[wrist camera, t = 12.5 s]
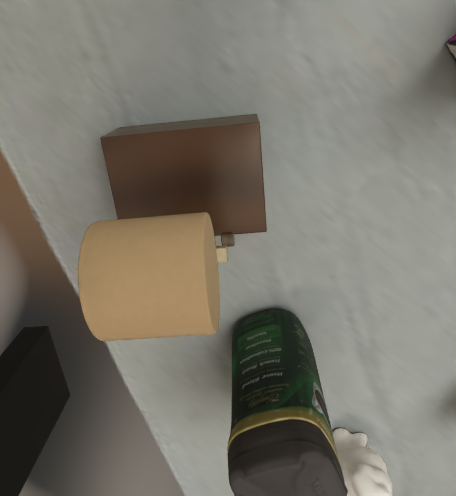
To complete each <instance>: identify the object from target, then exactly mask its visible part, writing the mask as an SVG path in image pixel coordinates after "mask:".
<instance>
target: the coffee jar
mask: <svg viewBox="0 0 456 496" xmlns="http://www.w3.org/2000/svg"><path fill="white" fill-rule="evenodd" d="M228 470H229V483H230V486H231V489H232V491H233V493H234V495H235V496H347V493H348V490H347V488H346V485H345V482H344V477H343V473H342V469H341V465H340V461H339V457H338V454H337V450H336V446H335V442H334V438H333V434H332V430H331V425H330V421H329V417H328V413H327V409H326V404H325V400H324V396H323V392H322V388H321V383H320V379H319V374H318V370H317V365H316V361H315V357H314V353H313V349H312V346H311V343H310V340H309V338H308V335H307V333H306V331H305V329H304V327H303V325H302V324H301V322H300V321H299V319H298V318H297V317H296V316H295V315H294V314H293V313H291V312H289V311H286V310H282V309H273V310H267V311H263V312H259V313H256V314H254V315H251V316H249V317H247V318H245V319H243V320H242V321H240V322H239V323H238V324H237V325H236V327H235V328H234V330H233V334H232V422H231V433H230V437H229V442H228Z"/></svg>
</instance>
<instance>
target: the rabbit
mask: <svg viewBox="0 0 456 496" xmlns="http://www.w3.org/2000/svg"><path fill="white" fill-rule="evenodd" d="M332 434H333V438H334V442H335V446H336V450H337V454H338V457H339V461H340V465H341V469H342V473H343V477H344V482H345V485H346V488H347V490H348V493H347V496H393V494H392V483H391V480H390V478H389V477H388V475H387V469H386V466H385V463H384V461H383V459H382V458H381V457H380V456H379V455H378V454H377V453H376V452H375V451H373V450H372V449H370V448H367V447H366V444H367V436H366V435H365V434H363V433H354V434H350V433H349V431H347V430H346V429H343V428H339V429H336V430H334V431H333V433H332Z"/></svg>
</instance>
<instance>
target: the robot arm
mask: <svg viewBox="0 0 456 496" xmlns="http://www.w3.org/2000/svg"><path fill="white" fill-rule="evenodd" d="M69 397H70V393H69V390H68V387H67V384H66V381H65V378H64V374H63V371H62V368H61V365H60V362H59V359H58V356H57V353H56V350H55V346H54V343H53V340H52V337H51V334H50V331H49V328H48V326H42V327H24V328H23V329H22V330H21V331H20V333H19V334H18V335H17V336H16V338H15V339H14V340H13V341H12V342H11V344H10V345H9V346H8V347H7V349H6V350H5V351H4V352H3V353H2V355H1V356H0V496H18V495H19V493H20V492H21V490H22V488H23V486H24V484H25V482H26V480H27V478H28V476H29V474H30V472H31V470H32V468H33V466H34V464H35V463H36V461H37V459H38V457H39V455H40V453H41V451H42V449H43V447H44V445H45V443H46V441H47V439H48V437H49V435H50V433H51V432H52V429H53V428H54V426H55V424H56V422H57V420H58V418H59V416H60V414H61V412H62V410H63V408H64V406H65V404H66V402H67V401H68V399H69Z"/></svg>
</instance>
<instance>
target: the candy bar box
mask: <svg viewBox="0 0 456 496" xmlns="http://www.w3.org/2000/svg"><path fill="white" fill-rule="evenodd" d="M446 45H447V47H448V48H449V50H450V52H451V54H452V55H453V57H454V59H455V60H456V35H455V36H454V37H453V38H451V39H450V40H449V41H448V42H447V43H446Z"/></svg>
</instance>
